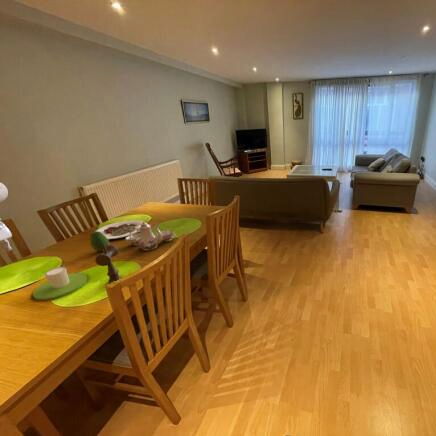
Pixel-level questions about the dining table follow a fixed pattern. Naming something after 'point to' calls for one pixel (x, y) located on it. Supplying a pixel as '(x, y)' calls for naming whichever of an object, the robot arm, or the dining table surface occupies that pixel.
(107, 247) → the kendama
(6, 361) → the dining table surface
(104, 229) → the plated food
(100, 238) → the avocado
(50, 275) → the shot glass
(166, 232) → the chinaware
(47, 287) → the placemat
